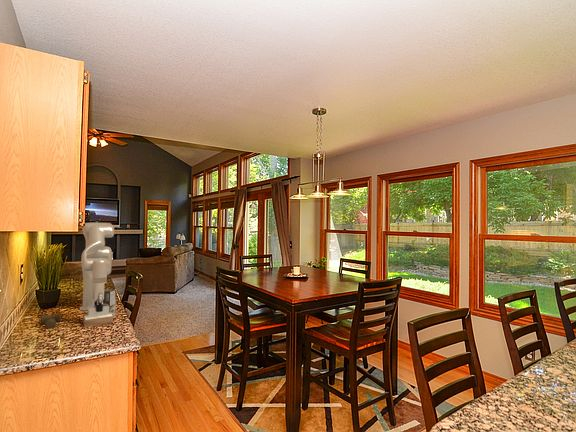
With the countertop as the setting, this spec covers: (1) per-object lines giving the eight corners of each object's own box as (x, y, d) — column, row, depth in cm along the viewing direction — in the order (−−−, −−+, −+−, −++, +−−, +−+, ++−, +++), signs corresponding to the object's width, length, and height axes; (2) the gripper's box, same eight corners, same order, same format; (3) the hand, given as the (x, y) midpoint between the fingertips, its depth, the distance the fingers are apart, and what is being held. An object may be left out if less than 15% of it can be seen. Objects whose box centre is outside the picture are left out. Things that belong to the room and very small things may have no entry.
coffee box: (116, 315, 206) (117, 289, 206) (109, 317, 199) (110, 291, 200) (102, 314, 206) (103, 289, 207) (95, 317, 200) (96, 291, 201)
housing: (84, 316, 186) (84, 306, 187) (110, 312, 194) (110, 303, 194) (85, 318, 182) (85, 308, 182) (111, 314, 189) (112, 305, 190)
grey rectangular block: (38, 331, 174) (41, 321, 190) (60, 329, 179) (61, 319, 196) (39, 320, 174) (41, 311, 191) (61, 318, 180) (61, 309, 196)
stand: (83, 323, 187) (83, 315, 187) (110, 319, 195) (110, 312, 196) (84, 327, 180) (84, 319, 180) (112, 323, 188) (112, 315, 188)
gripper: (90, 279, 193) (89, 307, 193) (93, 283, 179) (92, 314, 179) (104, 278, 198) (103, 306, 197) (108, 282, 184) (107, 312, 183)
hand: (98, 310), depth 188 cm, fingers open, 9 cm apart
